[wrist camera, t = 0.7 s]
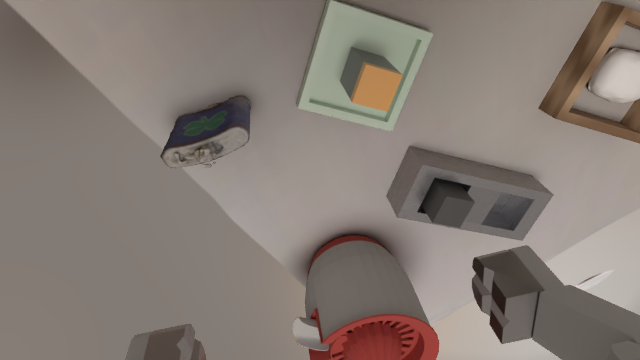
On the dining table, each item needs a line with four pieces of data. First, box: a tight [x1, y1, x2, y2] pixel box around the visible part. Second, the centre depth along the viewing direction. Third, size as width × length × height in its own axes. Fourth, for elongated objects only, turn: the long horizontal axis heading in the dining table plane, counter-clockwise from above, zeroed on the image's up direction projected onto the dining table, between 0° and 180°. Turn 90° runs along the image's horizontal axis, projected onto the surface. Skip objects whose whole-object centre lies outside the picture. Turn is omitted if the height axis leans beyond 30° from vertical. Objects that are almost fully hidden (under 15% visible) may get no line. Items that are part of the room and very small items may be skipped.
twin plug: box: [421, 178, 475, 228], centre depth 53 cm, size 4×4×7 cm
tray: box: [297, 0, 433, 132], centre depth 47 cm, size 12×12×2 cm
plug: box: [340, 47, 403, 112], centre depth 44 cm, size 4×4×7 cm
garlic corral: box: [539, 2, 640, 143], centre depth 51 cm, size 13×14×4 cm
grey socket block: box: [387, 146, 553, 240], centre depth 56 cm, size 8×20×5 cm, turn 72°
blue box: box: [161, 96, 251, 168], centre depth 44 cm, size 9×3×11 cm, turn 107°
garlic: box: [588, 48, 640, 103], centre depth 51 cm, size 8×7×4 cm
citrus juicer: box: [293, 235, 439, 360], centre depth 55 cm, size 16×17×20 cm
